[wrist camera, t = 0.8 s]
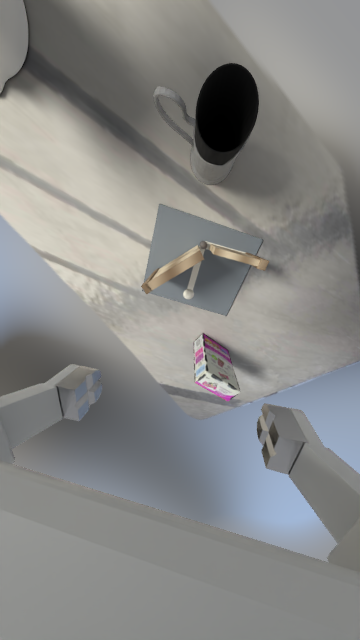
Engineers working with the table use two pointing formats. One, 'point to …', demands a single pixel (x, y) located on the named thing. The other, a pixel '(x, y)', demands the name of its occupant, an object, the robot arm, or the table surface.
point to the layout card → (206, 276)
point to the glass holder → (217, 120)
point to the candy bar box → (214, 368)
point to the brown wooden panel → (173, 269)
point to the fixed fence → (237, 255)
